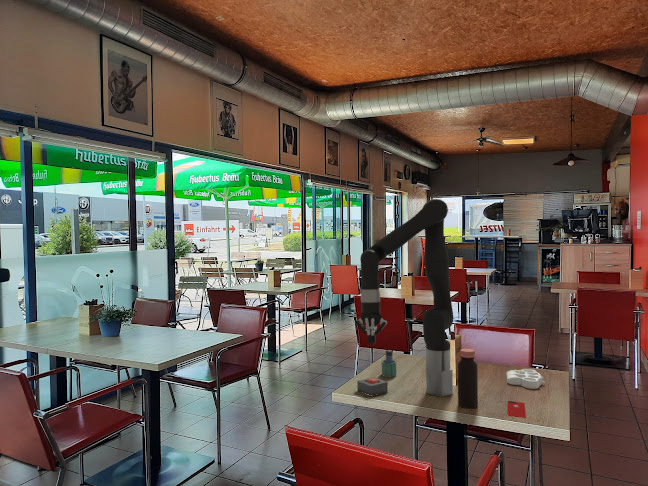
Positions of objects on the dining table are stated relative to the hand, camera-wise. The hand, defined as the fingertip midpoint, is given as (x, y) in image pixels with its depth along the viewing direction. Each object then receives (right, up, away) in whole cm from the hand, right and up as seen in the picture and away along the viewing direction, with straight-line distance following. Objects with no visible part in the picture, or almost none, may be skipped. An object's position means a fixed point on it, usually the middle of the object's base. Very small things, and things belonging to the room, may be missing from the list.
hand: (371, 344), depth 187 cm
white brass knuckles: (+65, -18, +11) cm, 68 cm away
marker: (+10, -18, +23) cm, 30 cm away
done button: (0, -17, +1) cm, 17 cm away
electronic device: (+49, -19, -20) cm, 56 cm away
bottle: (+33, -19, -16) cm, 41 cm away
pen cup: (+10, -18, +23) cm, 31 cm away
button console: (0, -19, +1) cm, 19 cm away
